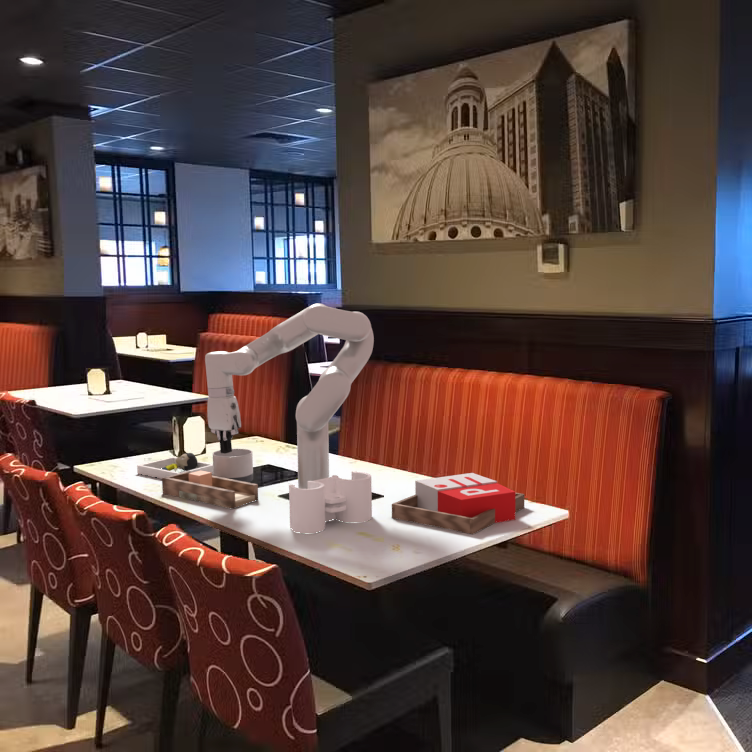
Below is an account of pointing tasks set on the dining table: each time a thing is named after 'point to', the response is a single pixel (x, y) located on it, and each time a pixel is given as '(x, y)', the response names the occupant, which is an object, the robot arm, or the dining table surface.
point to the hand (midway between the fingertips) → (226, 452)
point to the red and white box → (466, 496)
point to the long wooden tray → (211, 490)
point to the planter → (234, 465)
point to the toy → (183, 463)
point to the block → (201, 477)
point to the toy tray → (156, 470)
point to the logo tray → (447, 516)
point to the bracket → (330, 502)
